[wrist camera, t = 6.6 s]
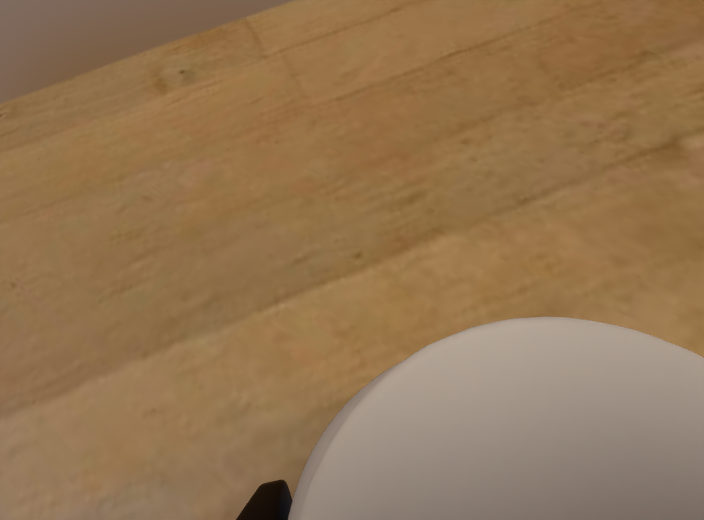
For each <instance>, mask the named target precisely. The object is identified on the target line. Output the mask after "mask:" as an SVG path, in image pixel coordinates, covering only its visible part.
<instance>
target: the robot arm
mask: <svg viewBox="0 0 704 520" xmlns="http://www.w3.org/2000/svg"><path fill="white" fill-rule="evenodd" d="M291 505H292V498H291V494H290V491H289V488H288V485H287V483H286V482H285V481H284V480H277V481H273V482H268V483H264V484H262V485H260V486H259V488H258V489H257V490H256V492H255V493H254V495H253V496H252V497H251V499H250V500H249V502H248V503H247V505H246V506H245V507H244V509H243V510H242V512H241V513H240V515H239V516H238V518H237V519H236V520H288V517H289V513H290V509H291Z"/></svg>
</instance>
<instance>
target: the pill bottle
mask: <svg viewBox="0 0 704 520" xmlns="http://www.w3.org/2000/svg"><path fill="white" fill-rule="evenodd" d="M288 520H704V357H702V356H700V355H698V354H696V353H694V352H691V351H689V350H687V349H685V348H682V347H680V346H677V345H675V344H672V343H669V342H667V341H664V340H662V339H659V338H656V337H654V336H651V335H648V334H645V333H642V332H639V331H636V330H633V329H630V328H625V327H621V326H616V325H611V324H606V323H601V322H595V321H590V320H583V319H574V318H565V317H533V318H516V319H509V320H503V321H498V322H493V323H488V324H484V325H479V326H475V327H472V328H469V329H466V330H464V331H461V332H459V333H456V334H453V335H451V336H448V337H446V338H444V339H441V340H439V341H437V342H434V343H432V344H430V345H427V346H425V347H423V348H422V349H420V350H419V351H417V352H416V353H414V354H413V355H411V356H410V357H408V358H407V359H405V360H404V361H402V362H400V363H399V364H397V365H395V366H393V367H391V368H390V369H388V370H387V371H385V372H383V373H382V374H380V375H379V376H377V377H376V378H375V379H374V380H372V381H371V382H370V383H369V384H367V385H366V386H365V387H364V388H362V389H361V390H360V391H359V392H358V393H357V394H356V395H355V396H354V397H353V398H352V399H351V400H349V401H348V403H347V404H346V405H345V406H344V407H343V408H342V409H341V410H340V411H339V412H338V414H337V415H336V416H335V417H334V419H333V420H332V421H331V423H330V424H329V425H328V427H327V428H326V430H325V431H324V433H323V434H322V436H321V437H320V439H319V440H318V442H317V444H316V446H315V448H314V449H313V451H312V453H311V455H310V457H309V459H308V461H307V463H306V465H305V467H304V470H303V472H302V474H301V477H300V480H299V483H298V485H297V488H296V491H295V494H294V497H293V501H292V505H291V509H290V513H289V517H288Z"/></svg>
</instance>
